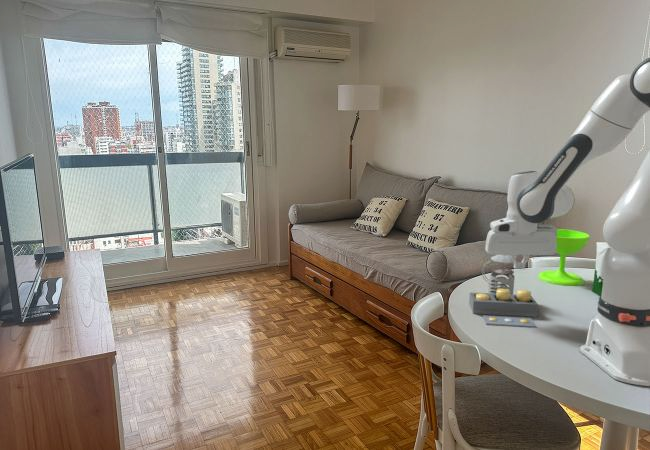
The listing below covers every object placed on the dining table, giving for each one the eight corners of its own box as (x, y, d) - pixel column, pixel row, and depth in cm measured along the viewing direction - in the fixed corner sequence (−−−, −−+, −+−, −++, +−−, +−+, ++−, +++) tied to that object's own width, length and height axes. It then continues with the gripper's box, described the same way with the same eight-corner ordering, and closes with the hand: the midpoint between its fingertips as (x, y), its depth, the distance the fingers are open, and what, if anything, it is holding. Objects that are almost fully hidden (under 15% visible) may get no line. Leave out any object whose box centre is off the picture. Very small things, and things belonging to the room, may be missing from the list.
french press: (511, 305, 148) (517, 231, 143) (476, 297, 155) (480, 226, 150) (519, 296, 156) (525, 225, 151) (485, 289, 163) (490, 221, 158)
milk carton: (600, 299, 153) (607, 241, 149) (587, 289, 162) (594, 235, 158) (627, 299, 153) (635, 242, 149) (613, 290, 161) (620, 236, 157)
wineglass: (580, 275, 179) (585, 230, 175) (588, 287, 164) (593, 239, 161) (536, 271, 184) (540, 228, 181) (539, 283, 170) (544, 236, 166)
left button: (489, 307, 143) (490, 298, 142) (476, 306, 143) (477, 297, 143) (487, 302, 147) (487, 293, 146) (474, 302, 147) (475, 293, 147)
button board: (545, 327, 131) (546, 315, 130) (477, 324, 134) (478, 311, 133) (529, 307, 147) (530, 295, 146) (469, 303, 150) (469, 292, 149)
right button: (531, 303, 140) (532, 294, 140) (518, 302, 141) (518, 293, 140) (528, 298, 144) (528, 289, 144) (514, 298, 145) (515, 289, 144)
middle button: (510, 302, 141) (511, 293, 141) (497, 301, 142) (498, 292, 141) (507, 297, 145) (508, 288, 145) (494, 297, 146) (495, 288, 145)
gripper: (554, 222, 139) (551, 266, 142) (485, 222, 142) (483, 265, 145) (561, 226, 133) (558, 271, 136) (489, 226, 136) (487, 270, 138)
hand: (519, 268), depth 140 cm, fingers closed
